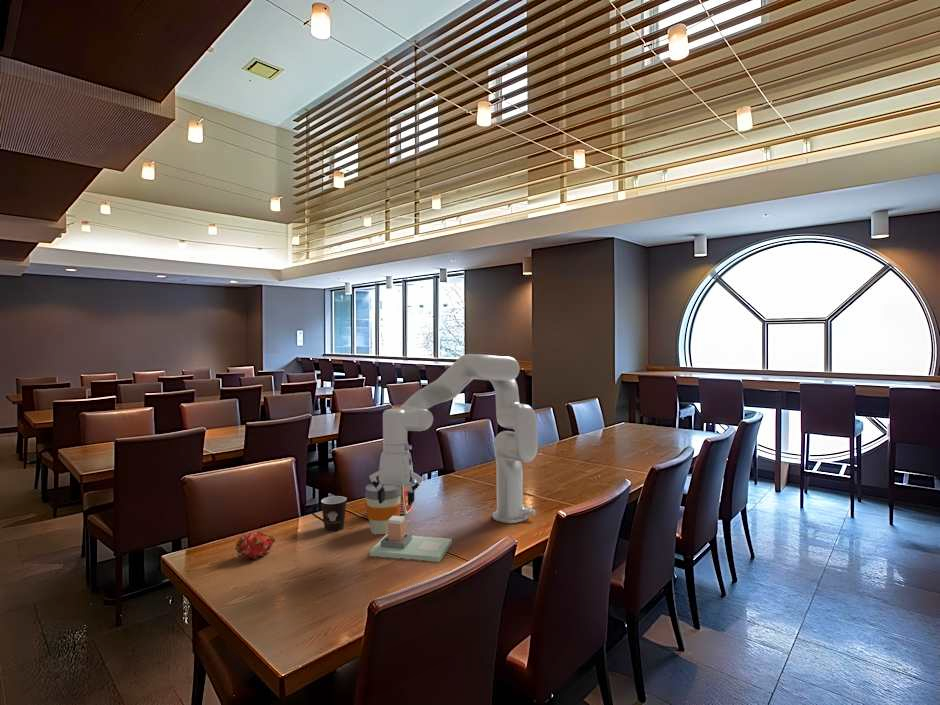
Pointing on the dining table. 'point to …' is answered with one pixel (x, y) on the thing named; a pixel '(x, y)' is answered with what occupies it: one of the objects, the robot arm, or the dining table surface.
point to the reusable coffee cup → (382, 507)
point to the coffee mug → (332, 512)
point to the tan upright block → (396, 528)
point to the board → (412, 548)
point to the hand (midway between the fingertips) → (396, 503)
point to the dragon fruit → (254, 545)
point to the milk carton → (405, 501)
